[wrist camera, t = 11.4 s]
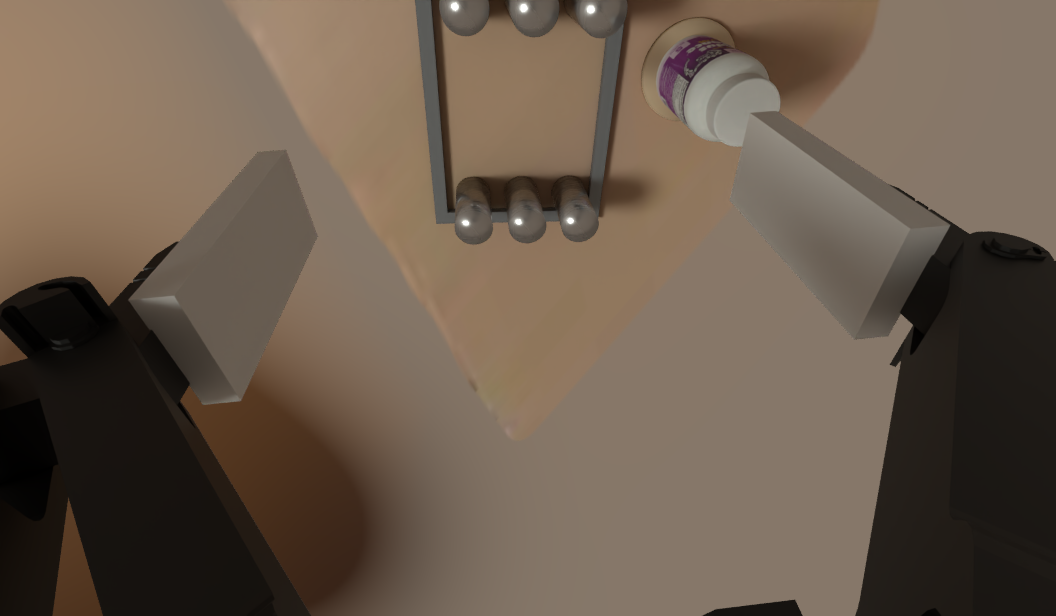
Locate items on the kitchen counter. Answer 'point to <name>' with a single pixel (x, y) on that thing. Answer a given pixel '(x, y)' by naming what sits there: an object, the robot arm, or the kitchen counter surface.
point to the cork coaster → (660, 49)
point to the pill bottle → (714, 88)
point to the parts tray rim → (435, 130)
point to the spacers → (534, 13)
